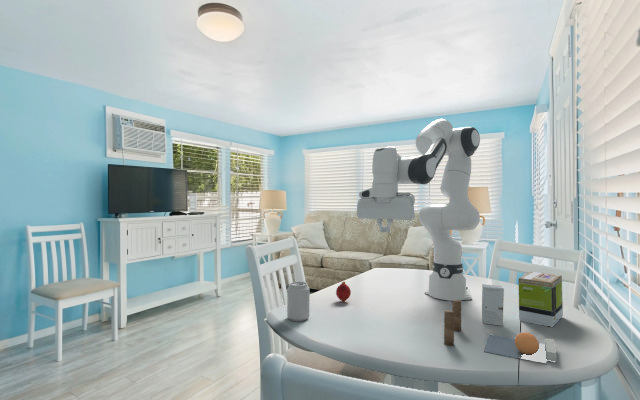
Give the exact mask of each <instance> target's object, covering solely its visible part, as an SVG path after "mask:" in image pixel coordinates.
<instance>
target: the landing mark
mask: <svg viewBox="0 0 640 400" xmlns="http://www.w3.org/2000/svg"><path fill="white" fill-rule="evenodd" d="M483 352H484V353H488V354H493V355H497V356H502V355H503V356H502V357H507V356H508V357H507V358H511V357H514V358H513V359H516V358H519V357H520V358H521V357H522V356H521V355H523V353H521V352H520V351H519V350H518V349H517V348H516V346H515V338H511V337H507V336H501V335H495V334H490V333H489V334H488V336H487V340H486V344H485V347H484V351H483Z"/></svg>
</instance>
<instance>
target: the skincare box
mask: <svg viewBox="0 0 640 400" xmlns="http://www.w3.org/2000/svg"><path fill="white" fill-rule="evenodd" d="M481 286H482V289H481V292H482V293H481V321H482V324H484V325H493V326H494V325H495V326H501V327H502V326H503V325H504V295H505V293H504V292H505V288H504V287H503V286H502V285H498V284H497V285H495V284H484V283H482V285H481Z"/></svg>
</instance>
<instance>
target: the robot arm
mask: <svg viewBox="0 0 640 400" xmlns="http://www.w3.org/2000/svg"><path fill="white" fill-rule="evenodd" d="M480 141H481V136H480V133H479V131H478V129H477V128H476V127H473V126H464V127H457V128H454V126H453V124H452V123H451V122H450V121H449V120H448V119H444V118H439V119H436V120H433V121H432V122H431V123H429V124H428V125H426V126H425V127H424V128H423V129H422V130H421V131H419V133H418V135H417V136H416V138H415V146H416V148H417V151H418V152H419V153H420V155H415V156H408V157H407V156H406V157H402V156H401V155H400V154H399V153H398V151H397V148H396V147H395V146H391V145H390V146H386V147H385V146H384V147H379V148H376V149H375V150H374V152H373V157H372V168H371V169H372V170H371V171H372V172H371V173H372V177H373V178H372V179H373V180H372V183H371V187H370V188H367V189H365V190H362V191H359V193H358V195H359V196H358V197H359V199H358V201H357V203H356V216H357V218H358V219H361V220H362V219H365V220H372V219H373V220H376V223H377V225H378V226H379V232H380V233H388V234H389V233H390V228H391V226H392V225H393V222H394V220H396V221H397V220H398V221H400V220H401V221H413V220H414V218H415V206H414V205H415V199H416V198H415V195H414V194H412V193H411V192H399V185H413V184H414V185H427V184H429V183H430V182H432V180H433V178H434V177H435V175H436V171H437V168H438V167H439V165H440V164H441V162H442V160H443V158H444V156H448V157H447V158H448V159H447V162H446V164H445V167H444V169H443V175H442V180H441V184H440V191H441V194H442V195H443V196H444V197H446V198H448V200H449V201H448V203H433V204H431V203H430V204H427V205H423V206H422V207H421V208H420V209H419V212H418V221H419V223H420V225H421V226H423V228H424V229H426V231H427V232H428V234H429V236H430V238H431V242H432V246H433V262H432V272H431V273H430V274H429V276H428V289H426V290H424V294H425V295H428V296H430V297H431V298H435V299H439V300H441V301H442V300H444V301H452V300H460V301H464V300H465V301H468V300H469V301H470V300H472V293H471V292H470V291H471V290H470V289H469V287H468V286H467V279H466V277H465V276H464V274H463V273H464V265H463V263H462V261H463V260H462V259H463V258H462V255H463V254H462V253H463V251H462V249H463V248H462V245H461V243H460V242H459V241H458V240H456V239H455V238H453V236H452V235H451V233H450V232H451V231H459V232H464V231H472V230H474V229H476V228H477V227H478V225H479V224H480V221H481V215H480V212H479V210H478V209H477V207H475V206H474V204H472V203H471V201H470V199H469V185H470V180H471V179H470V178H471V174H472V156H473V155H474V154H475V152H476V151H477V149H478V148H479V146H480ZM383 220H386V223H387V225H386V226H384V225H383V222H384V221H383Z"/></svg>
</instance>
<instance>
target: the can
mask: <svg viewBox="0 0 640 400" xmlns="http://www.w3.org/2000/svg"><path fill="white" fill-rule="evenodd" d="M310 290H311V289H310V287H309V286H308V282H305V281H292V282H289V286H287V290H286V291H287V295H286V297H287V299H286V300H287V306H286V307H287V310H286V313H287V314H286V315H287V316H286V317H287V318H288V319H289V320H290V321H293V322H304V321H306V320H307V319H309V317H310V297H311V296H310V293H311V292H310Z"/></svg>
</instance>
